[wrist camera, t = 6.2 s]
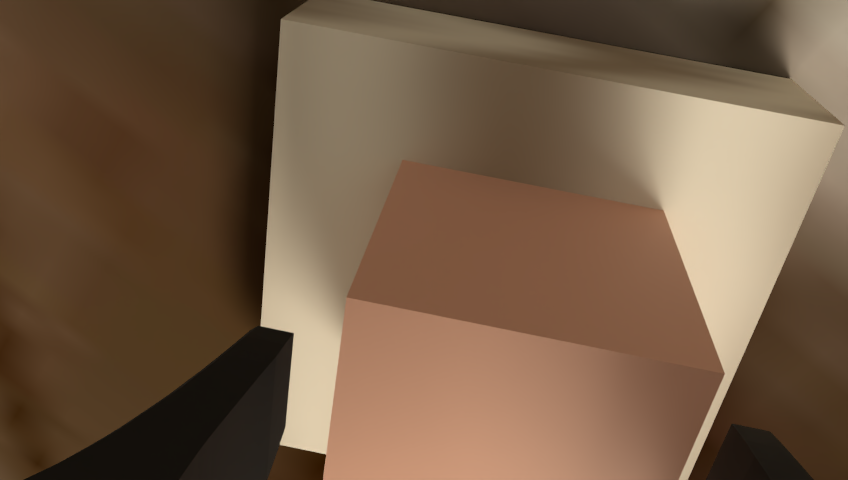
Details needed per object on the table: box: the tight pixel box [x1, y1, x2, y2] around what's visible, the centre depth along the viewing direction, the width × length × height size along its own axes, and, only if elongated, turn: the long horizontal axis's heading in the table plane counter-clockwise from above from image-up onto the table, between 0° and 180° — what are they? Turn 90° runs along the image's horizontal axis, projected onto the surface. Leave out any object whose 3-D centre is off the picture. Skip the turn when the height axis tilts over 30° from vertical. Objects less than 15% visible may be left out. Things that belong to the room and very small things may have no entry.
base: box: [261, 0, 845, 480], centre depth 17 cm, size 10×10×3 cm
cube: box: [323, 160, 725, 480], centre depth 13 cm, size 5×5×5 cm
